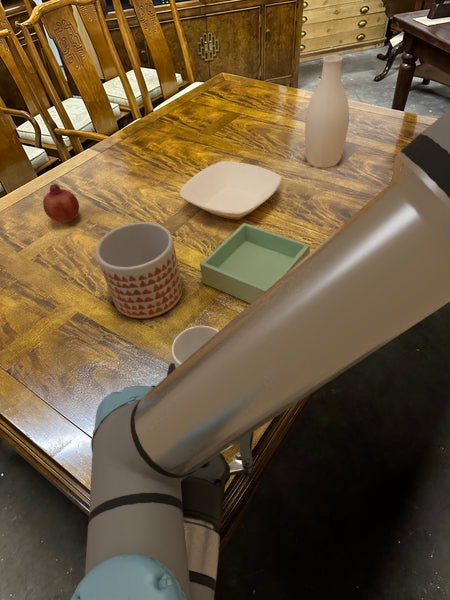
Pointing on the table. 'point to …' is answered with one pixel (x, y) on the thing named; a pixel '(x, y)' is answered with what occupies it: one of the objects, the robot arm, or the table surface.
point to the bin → (251, 262)
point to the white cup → (190, 342)
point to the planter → (140, 269)
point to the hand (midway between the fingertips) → (210, 347)
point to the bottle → (327, 117)
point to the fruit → (60, 204)
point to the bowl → (230, 188)
